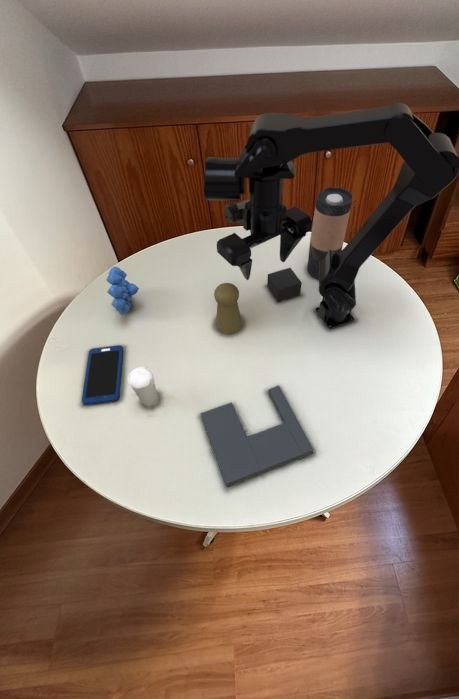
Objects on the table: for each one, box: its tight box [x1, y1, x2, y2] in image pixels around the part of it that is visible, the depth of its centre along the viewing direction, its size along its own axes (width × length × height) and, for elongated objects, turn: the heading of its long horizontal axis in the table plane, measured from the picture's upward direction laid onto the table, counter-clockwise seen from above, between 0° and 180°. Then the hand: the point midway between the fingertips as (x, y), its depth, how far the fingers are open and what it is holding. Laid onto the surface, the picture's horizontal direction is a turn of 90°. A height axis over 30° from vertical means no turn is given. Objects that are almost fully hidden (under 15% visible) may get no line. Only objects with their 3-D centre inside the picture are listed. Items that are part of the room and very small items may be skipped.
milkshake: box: [127, 366, 160, 408], centre depth 68 cm, size 4×5×10 cm
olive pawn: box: [213, 282, 243, 335], centre depth 79 cm, size 6×6×11 cm
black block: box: [266, 267, 303, 303], centre depth 88 cm, size 6×6×4 cm
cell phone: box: [81, 344, 124, 405], centre depth 77 cm, size 7×14×1 cm, turn 7°
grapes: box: [106, 266, 140, 316], centre depth 84 cm, size 12×7×12 cm, turn 8°
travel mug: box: [306, 186, 354, 280], centre depth 85 cm, size 8×8×20 cm
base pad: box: [200, 385, 314, 488], centre depth 66 cm, size 16×14×2 cm
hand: (264, 269), depth 76 cm, fingers open, 9 cm apart
